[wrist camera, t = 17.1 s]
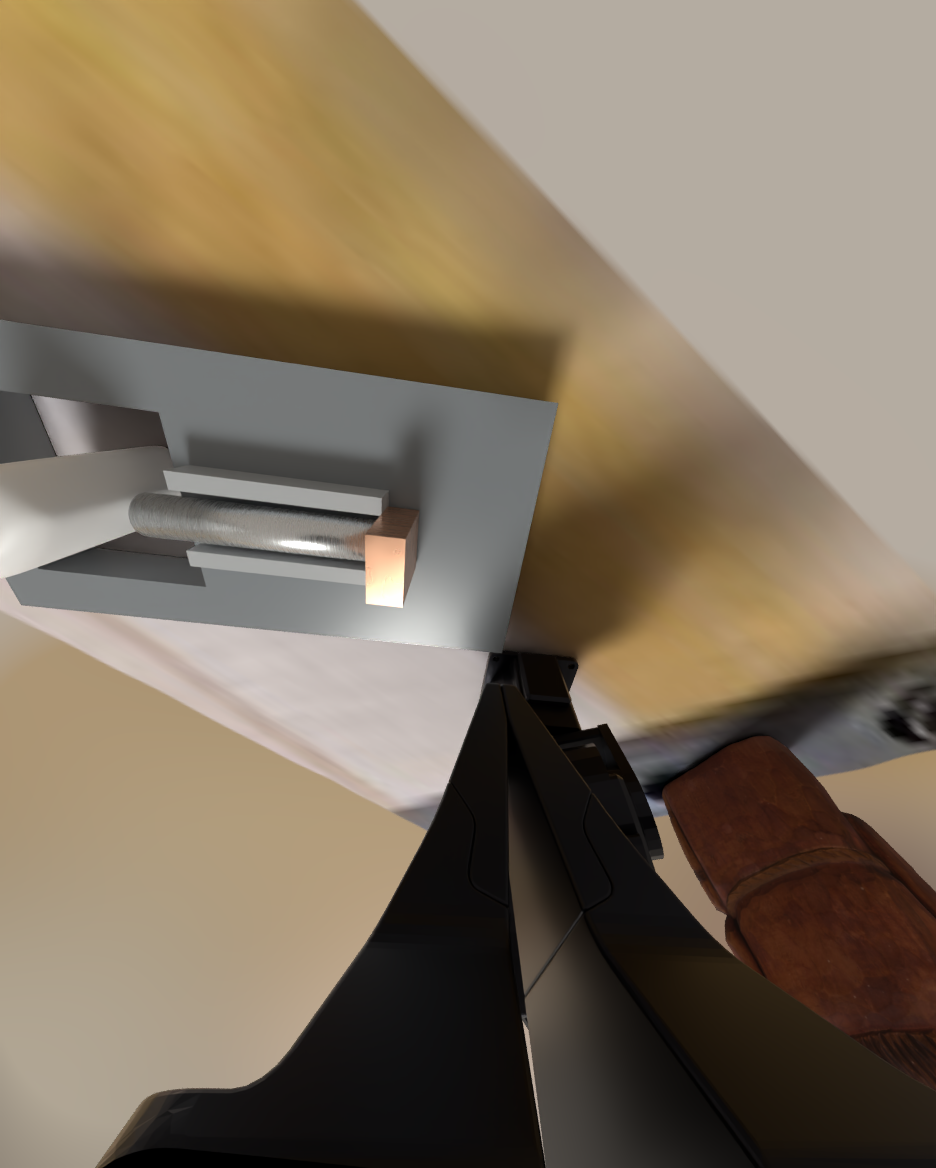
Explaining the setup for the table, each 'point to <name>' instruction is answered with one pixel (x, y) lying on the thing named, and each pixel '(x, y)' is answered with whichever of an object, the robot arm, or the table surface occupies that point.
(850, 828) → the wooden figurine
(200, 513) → the lock pin
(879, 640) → the table surface
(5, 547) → the eye dropper bottle
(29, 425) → the dock block
